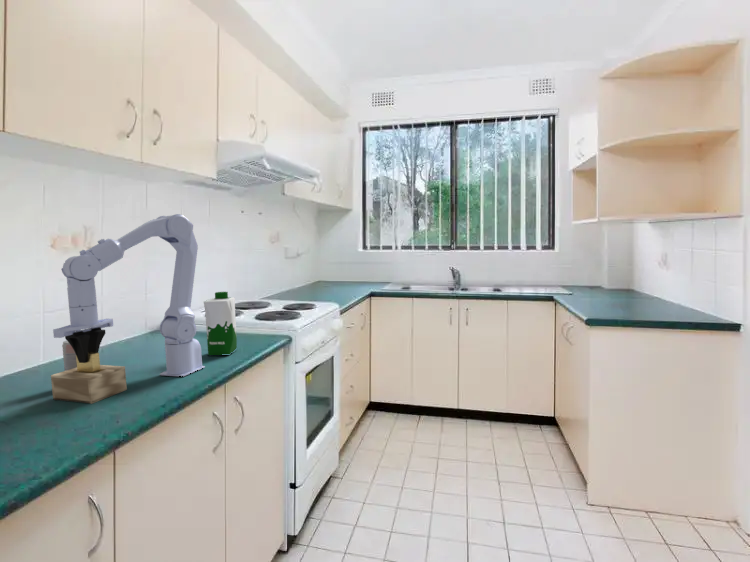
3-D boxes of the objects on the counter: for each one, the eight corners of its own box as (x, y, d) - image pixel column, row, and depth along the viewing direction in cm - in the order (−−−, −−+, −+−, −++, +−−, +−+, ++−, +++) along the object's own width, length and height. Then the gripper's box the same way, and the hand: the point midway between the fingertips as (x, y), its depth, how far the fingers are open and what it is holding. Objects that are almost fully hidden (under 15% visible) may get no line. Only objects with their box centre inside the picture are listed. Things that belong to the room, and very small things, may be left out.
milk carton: (240, 349, 157) (236, 291, 155) (231, 356, 148) (227, 294, 146) (214, 350, 157) (210, 291, 155) (203, 357, 148) (199, 295, 146)
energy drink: (85, 381, 125) (82, 337, 124) (93, 384, 122) (89, 339, 121) (63, 386, 121) (58, 341, 120) (70, 390, 117) (66, 343, 116)
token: (84, 371, 115) (83, 351, 114) (100, 372, 113) (98, 352, 113) (77, 373, 113) (75, 353, 112) (93, 375, 111) (91, 354, 111)
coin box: (90, 386, 120) (88, 364, 119) (126, 389, 116) (124, 366, 116) (53, 399, 110) (50, 375, 110) (91, 403, 107) (89, 378, 106)
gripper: (67, 310, 103) (73, 370, 105) (120, 301, 117) (125, 354, 118) (44, 310, 106) (49, 368, 107) (99, 301, 119) (103, 353, 121)
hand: (88, 361), depth 113 cm, fingers closed on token, 2 cm apart
